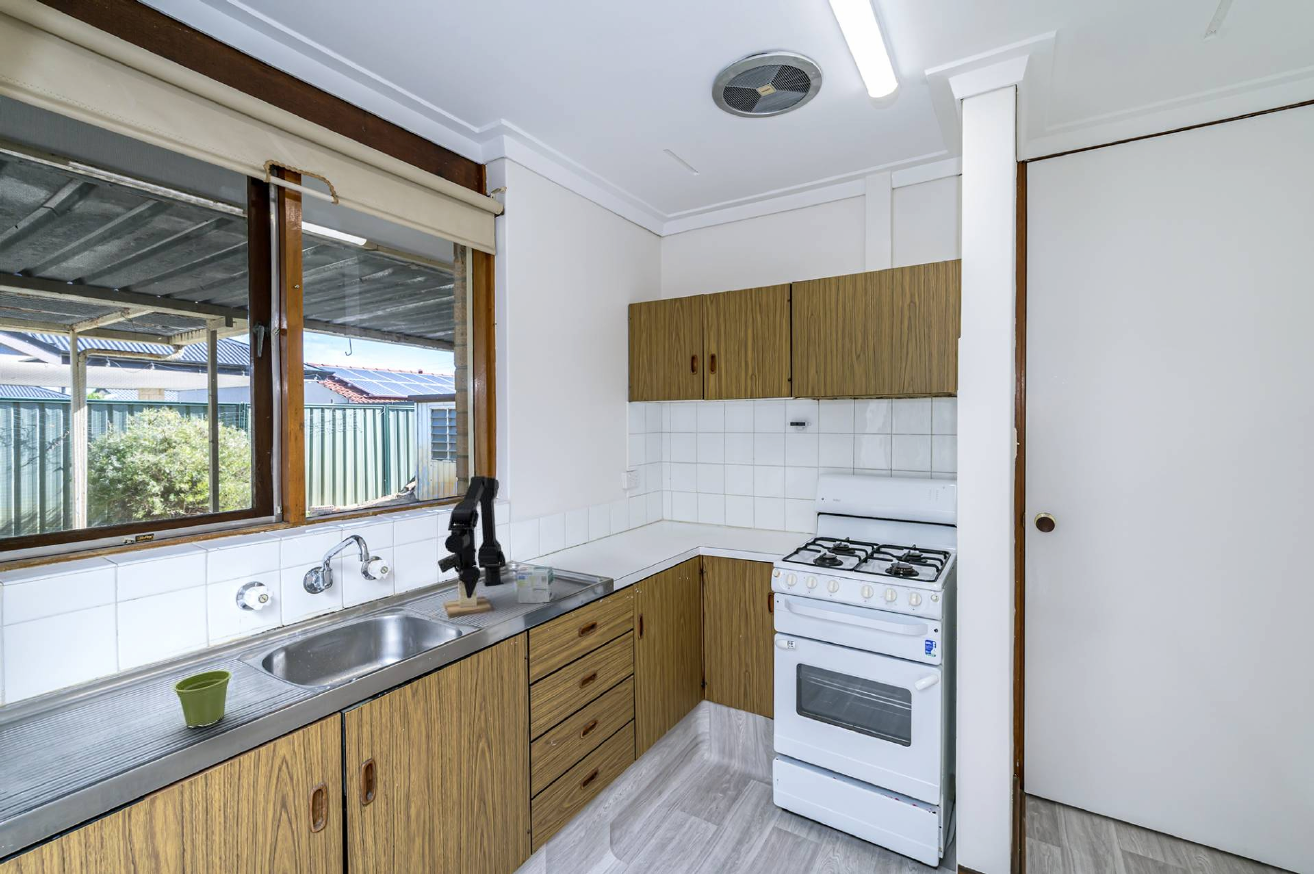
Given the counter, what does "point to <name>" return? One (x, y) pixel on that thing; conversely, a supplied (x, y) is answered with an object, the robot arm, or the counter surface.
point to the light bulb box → (535, 584)
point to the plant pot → (203, 696)
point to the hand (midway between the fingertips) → (467, 594)
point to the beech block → (463, 597)
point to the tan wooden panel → (467, 608)
